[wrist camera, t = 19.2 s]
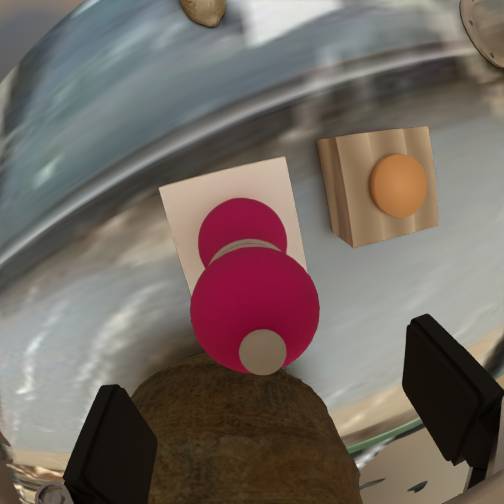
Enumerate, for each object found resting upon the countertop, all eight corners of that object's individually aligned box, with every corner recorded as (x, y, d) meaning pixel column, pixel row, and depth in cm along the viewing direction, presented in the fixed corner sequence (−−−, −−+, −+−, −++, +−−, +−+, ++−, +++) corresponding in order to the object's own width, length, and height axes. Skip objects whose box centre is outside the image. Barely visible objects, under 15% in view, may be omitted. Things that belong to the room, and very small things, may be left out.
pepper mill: (277, 264, 31) (346, 418, 12) (204, 267, 30) (179, 431, 11) (278, 191, 28) (376, 265, 9) (200, 193, 28) (146, 275, 9)
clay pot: (352, 352, 38) (439, 506, 14) (259, 456, 44) (277, 583, 20) (169, 272, 33) (90, 480, 9) (112, 408, 39) (70, 549, 15)
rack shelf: (280, 156, 30) (284, 156, 28) (302, 266, 34) (307, 274, 31) (164, 185, 30) (158, 187, 27) (195, 291, 34) (193, 302, 31)
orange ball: (386, 149, 30) (423, 151, 23) (393, 199, 32) (429, 211, 25) (341, 157, 30) (370, 159, 23) (350, 209, 32) (379, 223, 25)
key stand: (397, 128, 30) (427, 126, 24) (408, 213, 33) (438, 225, 27) (315, 139, 30) (335, 137, 24) (332, 232, 33) (353, 248, 27)
